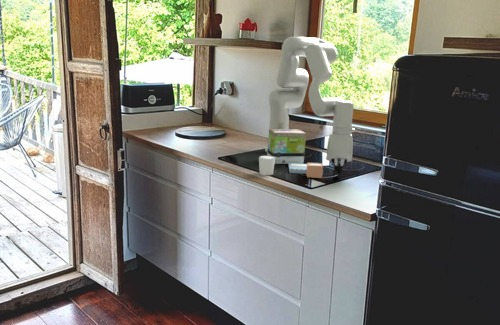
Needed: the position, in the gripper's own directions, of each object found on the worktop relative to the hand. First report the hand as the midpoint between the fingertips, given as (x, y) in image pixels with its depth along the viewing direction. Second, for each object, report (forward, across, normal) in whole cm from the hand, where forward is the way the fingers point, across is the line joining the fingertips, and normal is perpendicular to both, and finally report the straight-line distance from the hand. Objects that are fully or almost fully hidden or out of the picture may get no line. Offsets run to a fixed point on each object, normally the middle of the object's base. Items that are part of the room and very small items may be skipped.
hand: (337, 174), depth 192 cm
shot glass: (+2, +30, -1) cm, 30 cm away
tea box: (+2, +21, -22) cm, 31 cm away
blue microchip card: (+1, +13, -8) cm, 15 cm away
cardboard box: (+1, +10, 0) cm, 10 cm away
